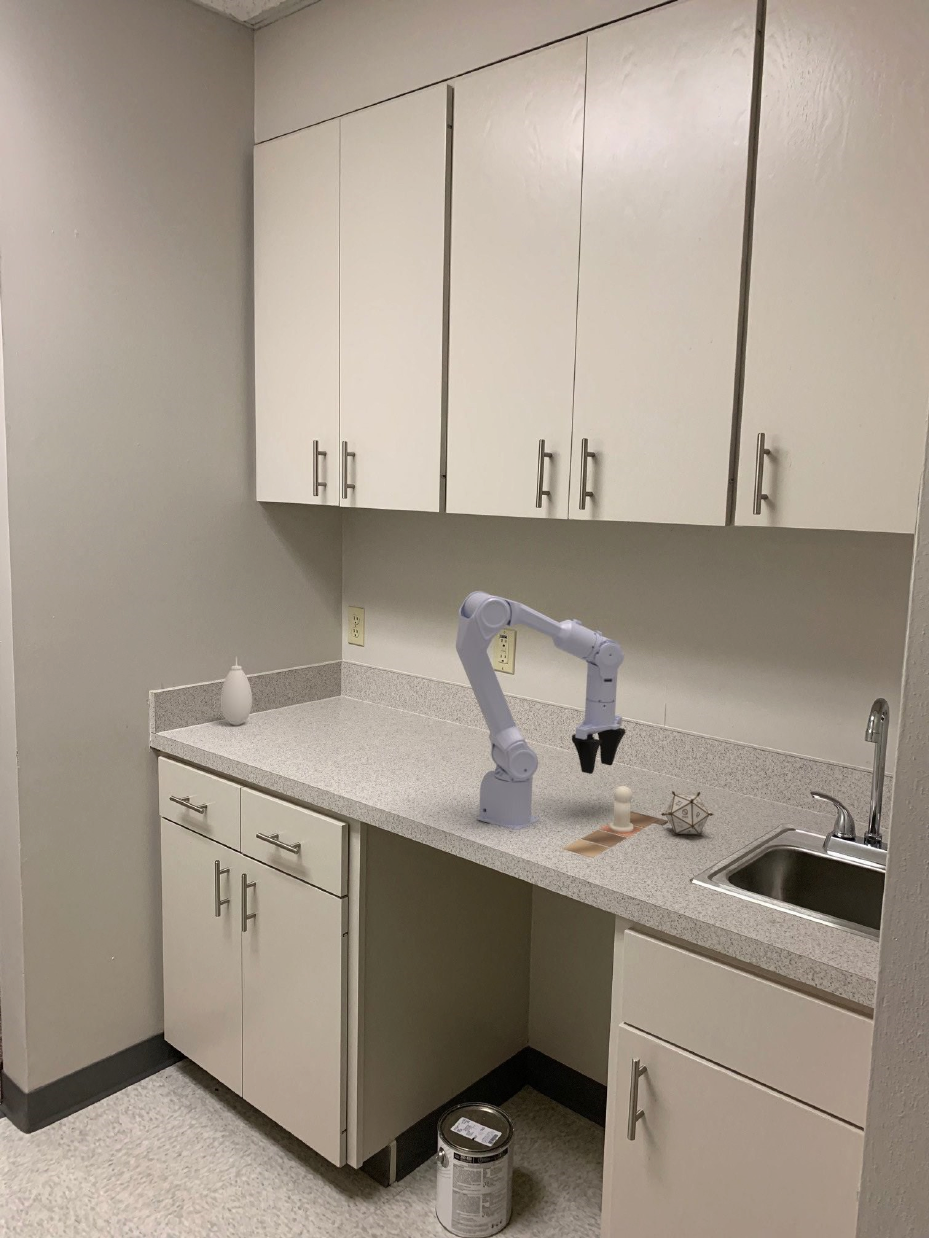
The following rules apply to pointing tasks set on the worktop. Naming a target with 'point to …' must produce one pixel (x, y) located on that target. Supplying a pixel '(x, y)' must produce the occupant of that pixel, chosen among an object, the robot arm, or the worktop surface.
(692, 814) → the game die
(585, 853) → the board
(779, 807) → the worktop surface
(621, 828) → the pawn
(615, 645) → the robot arm
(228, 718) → the air blower bulb
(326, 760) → the worktop surface
